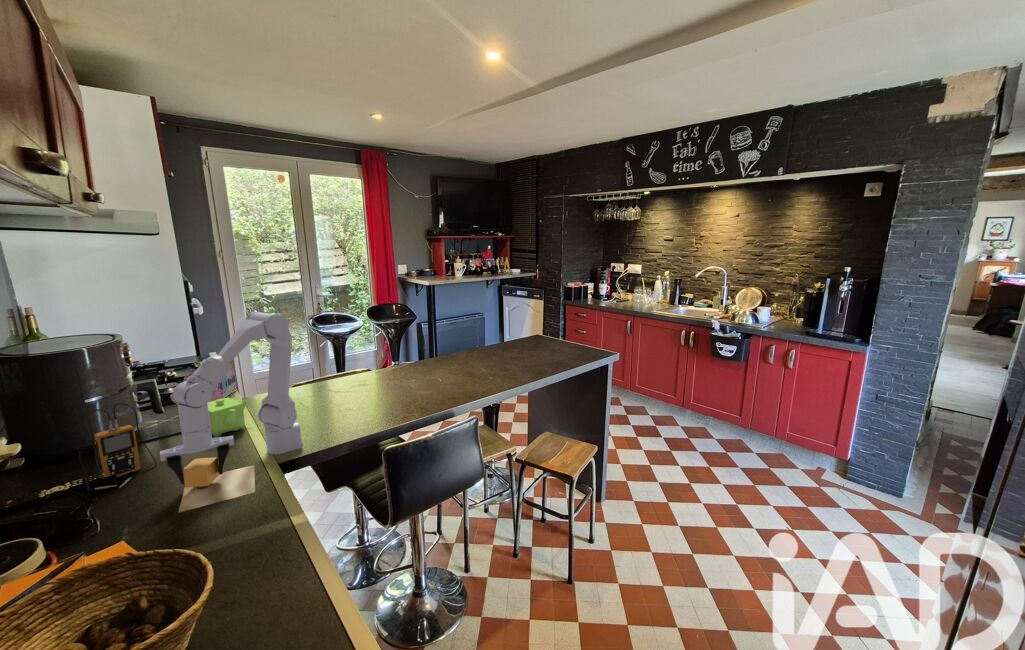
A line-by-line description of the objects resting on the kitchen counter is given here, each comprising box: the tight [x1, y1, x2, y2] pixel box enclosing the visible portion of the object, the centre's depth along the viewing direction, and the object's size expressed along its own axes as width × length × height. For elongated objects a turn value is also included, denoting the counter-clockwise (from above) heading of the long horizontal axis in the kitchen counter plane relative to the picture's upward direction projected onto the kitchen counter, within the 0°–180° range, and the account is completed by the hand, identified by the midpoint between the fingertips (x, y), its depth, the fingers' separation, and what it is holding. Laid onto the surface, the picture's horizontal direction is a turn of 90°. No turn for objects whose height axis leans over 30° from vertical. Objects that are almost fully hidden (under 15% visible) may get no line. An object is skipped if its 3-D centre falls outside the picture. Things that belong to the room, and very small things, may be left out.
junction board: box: [177, 464, 256, 514], centre depth 101 cm, size 15×15×6 cm
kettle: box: [207, 396, 248, 438], centre depth 134 cm, size 15×14×11 cm
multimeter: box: [76, 402, 158, 491], centre depth 105 cm, size 15×10×20 cm
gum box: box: [183, 360, 238, 403], centre depth 160 cm, size 24×8×14 cm, turn 11°
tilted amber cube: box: [183, 456, 219, 488], centre depth 100 cm, size 5×5×5 cm
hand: (202, 477), depth 101 cm, fingers closed on tilted amber cube, 7 cm apart
